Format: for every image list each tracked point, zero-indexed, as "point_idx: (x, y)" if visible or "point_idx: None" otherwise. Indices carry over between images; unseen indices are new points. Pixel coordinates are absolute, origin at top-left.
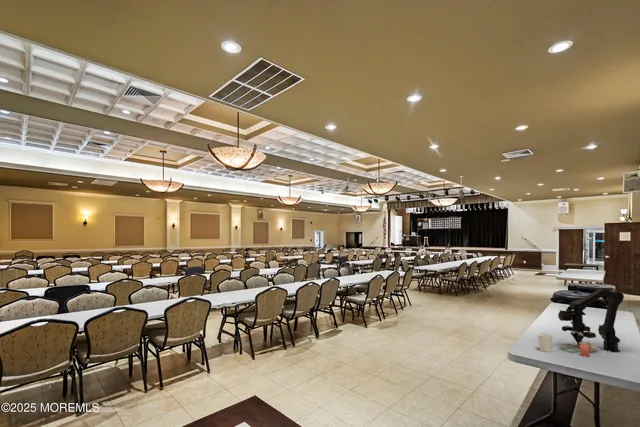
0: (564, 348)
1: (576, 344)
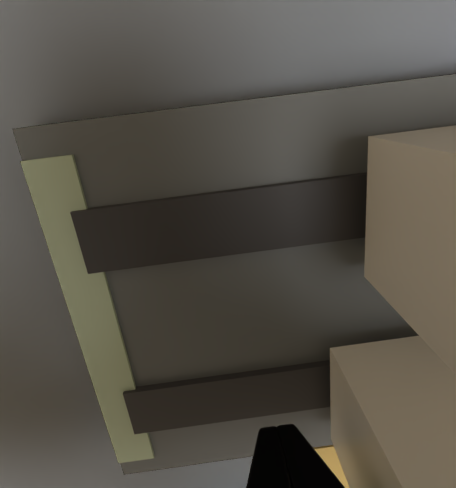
0: None
1: (68, 305)
